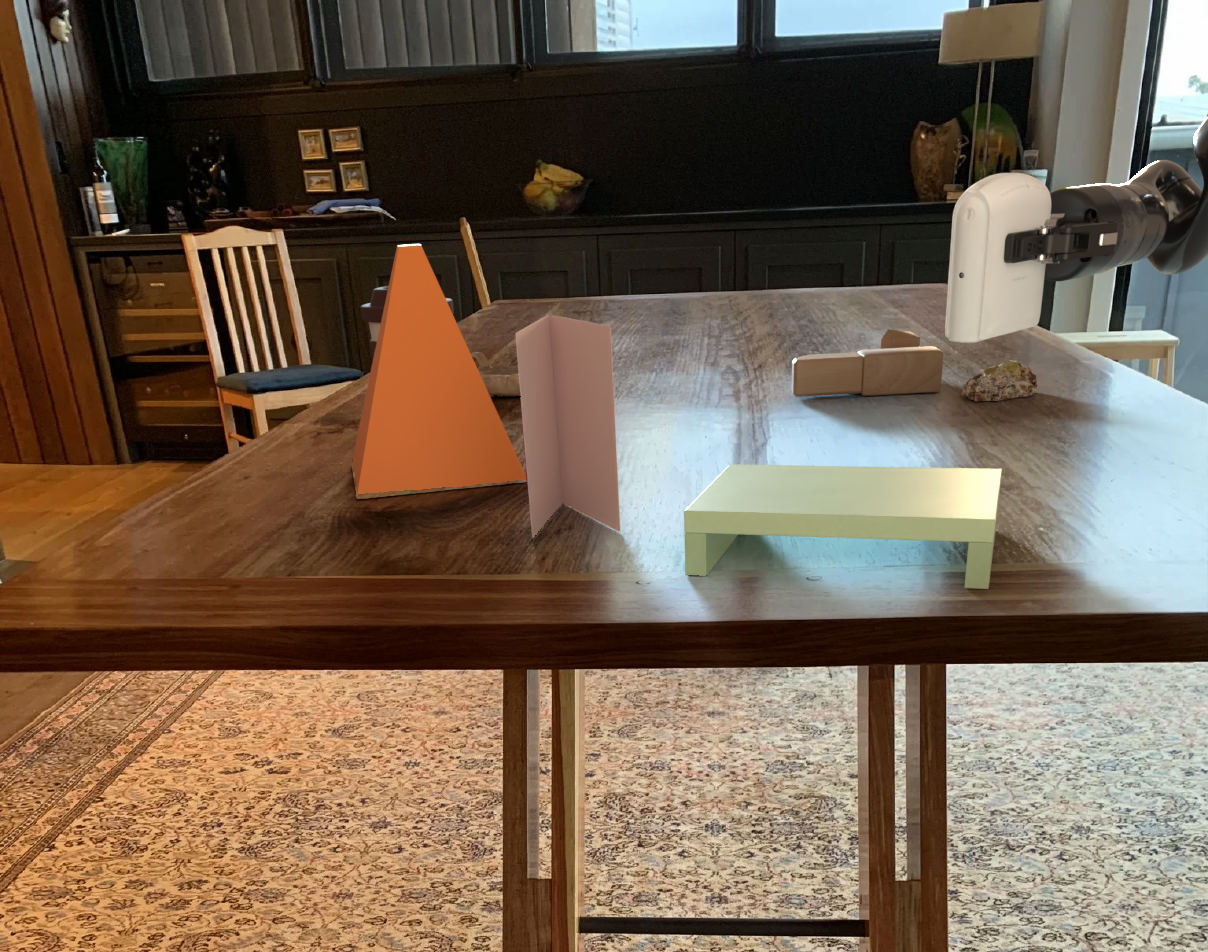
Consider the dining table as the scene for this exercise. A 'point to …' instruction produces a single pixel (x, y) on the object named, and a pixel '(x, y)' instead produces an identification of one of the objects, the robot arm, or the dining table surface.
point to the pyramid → (426, 396)
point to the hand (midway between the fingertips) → (981, 248)
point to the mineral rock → (1001, 383)
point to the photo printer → (994, 259)
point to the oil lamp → (498, 377)
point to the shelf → (847, 509)
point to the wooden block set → (872, 369)
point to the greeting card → (568, 419)
